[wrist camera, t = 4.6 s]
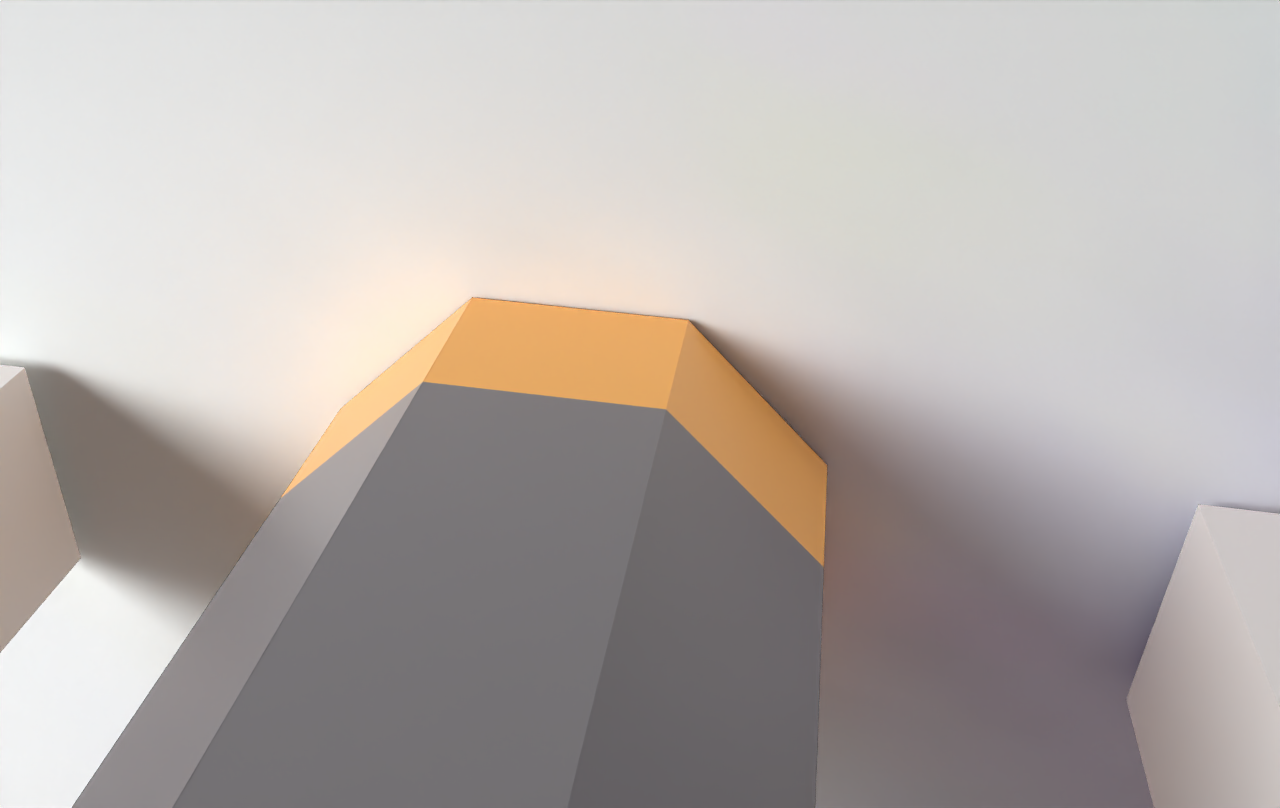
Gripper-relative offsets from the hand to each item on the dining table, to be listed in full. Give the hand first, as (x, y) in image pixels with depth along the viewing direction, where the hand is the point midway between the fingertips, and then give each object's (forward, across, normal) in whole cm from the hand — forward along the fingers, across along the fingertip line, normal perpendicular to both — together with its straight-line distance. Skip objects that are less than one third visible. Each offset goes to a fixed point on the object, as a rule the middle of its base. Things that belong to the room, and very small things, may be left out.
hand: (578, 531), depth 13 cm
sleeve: (0, 0, 0) cm, 0 cm away
